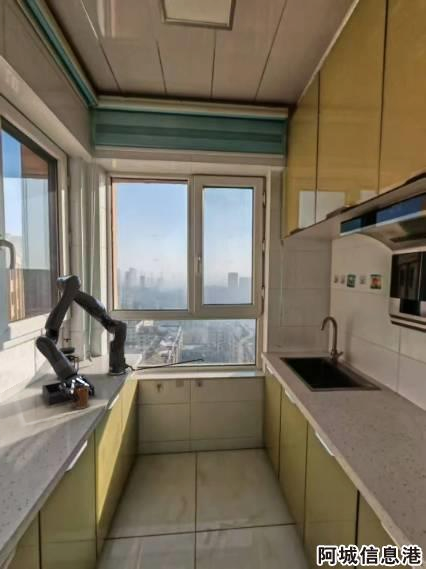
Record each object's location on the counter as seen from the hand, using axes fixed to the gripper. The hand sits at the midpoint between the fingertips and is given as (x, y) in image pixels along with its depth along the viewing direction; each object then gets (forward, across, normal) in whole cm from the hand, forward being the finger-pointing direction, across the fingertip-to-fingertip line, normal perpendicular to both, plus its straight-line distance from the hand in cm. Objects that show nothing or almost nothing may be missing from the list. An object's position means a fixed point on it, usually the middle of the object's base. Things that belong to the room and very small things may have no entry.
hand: (83, 398), depth 130 cm
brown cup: (+2, 0, +4) cm, 4 cm away
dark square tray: (-8, +7, +14) cm, 18 cm away
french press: (-23, +27, +30) cm, 46 cm away
